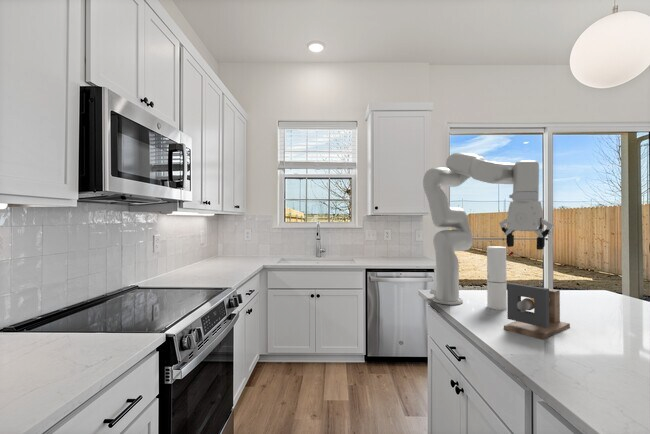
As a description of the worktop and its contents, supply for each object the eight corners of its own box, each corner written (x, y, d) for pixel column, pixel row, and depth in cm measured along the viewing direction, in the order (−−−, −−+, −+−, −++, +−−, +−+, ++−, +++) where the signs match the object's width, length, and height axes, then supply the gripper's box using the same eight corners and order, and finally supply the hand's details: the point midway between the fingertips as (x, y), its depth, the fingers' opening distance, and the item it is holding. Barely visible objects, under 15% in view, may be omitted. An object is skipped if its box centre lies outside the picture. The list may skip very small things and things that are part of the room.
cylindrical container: (502, 305, 146) (501, 246, 146) (509, 309, 139) (509, 247, 139) (484, 304, 147) (484, 246, 147) (491, 309, 140) (490, 247, 140)
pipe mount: (503, 329, 116) (503, 293, 116) (532, 318, 127) (532, 286, 127) (542, 339, 106) (542, 300, 106) (569, 327, 117) (569, 291, 117)
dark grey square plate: (507, 318, 117) (507, 283, 117) (510, 317, 118) (510, 282, 118) (546, 328, 107) (546, 289, 107) (549, 326, 108) (549, 288, 108)
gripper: (494, 197, 122) (494, 246, 123) (548, 196, 108) (547, 251, 108) (506, 198, 126) (505, 245, 127) (559, 197, 112) (558, 249, 113)
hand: (524, 247), depth 118 cm, fingers open, 9 cm apart
